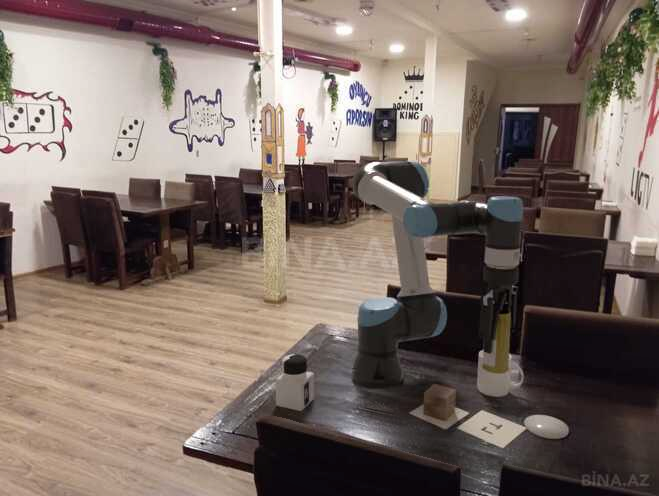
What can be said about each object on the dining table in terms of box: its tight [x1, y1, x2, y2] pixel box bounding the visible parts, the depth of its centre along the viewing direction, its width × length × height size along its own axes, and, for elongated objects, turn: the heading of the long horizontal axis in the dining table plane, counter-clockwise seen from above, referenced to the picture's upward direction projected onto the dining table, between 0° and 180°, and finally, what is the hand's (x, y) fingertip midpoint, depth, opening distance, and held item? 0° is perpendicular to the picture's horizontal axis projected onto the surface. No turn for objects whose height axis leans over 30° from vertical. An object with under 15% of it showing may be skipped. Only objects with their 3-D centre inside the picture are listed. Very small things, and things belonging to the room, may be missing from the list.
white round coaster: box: [523, 414, 570, 440], centre depth 125 cm, size 10×10×1 cm
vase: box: [482, 310, 512, 374], centre depth 120 cm, size 6×6×14 cm
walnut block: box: [423, 383, 457, 421], centre depth 131 cm, size 6×6×6 cm
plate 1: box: [409, 403, 470, 430], centre depth 132 cm, size 11×11×1 cm
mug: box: [476, 349, 525, 398], centre depth 142 cm, size 9×12×11 cm
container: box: [275, 353, 315, 412], centre depth 137 cm, size 8×8×13 cm
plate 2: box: [456, 410, 527, 449], centre depth 125 cm, size 12×12×1 cm
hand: (495, 360), depth 121 cm, fingers closed on vase, 6 cm apart
